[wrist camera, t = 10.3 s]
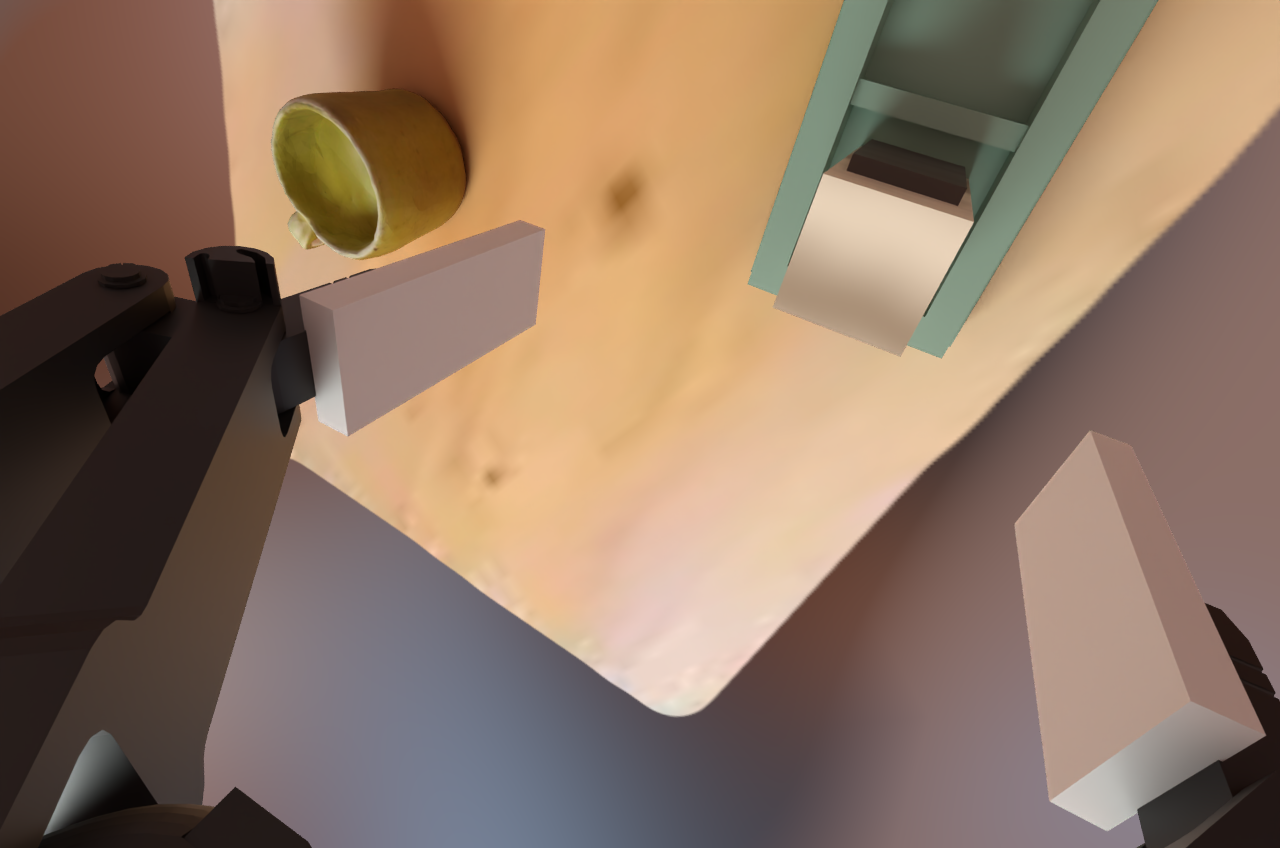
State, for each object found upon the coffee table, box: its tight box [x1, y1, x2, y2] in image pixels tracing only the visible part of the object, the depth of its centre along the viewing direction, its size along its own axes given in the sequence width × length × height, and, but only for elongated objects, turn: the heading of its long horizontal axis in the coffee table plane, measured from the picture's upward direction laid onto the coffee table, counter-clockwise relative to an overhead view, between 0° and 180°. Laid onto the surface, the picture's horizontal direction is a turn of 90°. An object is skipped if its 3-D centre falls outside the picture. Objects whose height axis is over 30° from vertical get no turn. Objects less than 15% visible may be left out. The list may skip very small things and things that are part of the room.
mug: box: [271, 89, 466, 260], centre depth 39 cm, size 12×10×10 cm
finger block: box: [773, 139, 974, 357], centre depth 24 cm, size 6×5×10 cm
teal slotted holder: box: [748, 0, 1158, 358], centre depth 21 cm, size 26×11×12 cm, turn 166°
